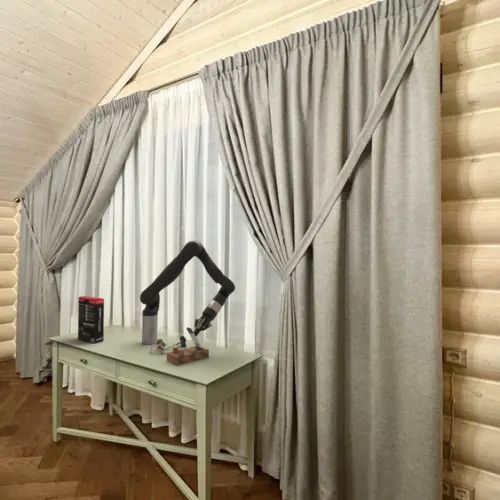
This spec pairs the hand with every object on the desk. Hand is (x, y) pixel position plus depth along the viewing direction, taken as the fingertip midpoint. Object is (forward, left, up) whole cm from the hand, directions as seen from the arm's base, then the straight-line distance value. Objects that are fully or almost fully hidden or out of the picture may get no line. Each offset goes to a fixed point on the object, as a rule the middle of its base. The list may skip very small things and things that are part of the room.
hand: (194, 335), depth 182 cm
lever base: (+2, -3, -12) cm, 12 cm away
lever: (0, 0, -2) cm, 2 cm away
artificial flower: (-14, -14, -12) cm, 23 cm away
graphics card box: (-40, -63, -12) cm, 76 cm away
